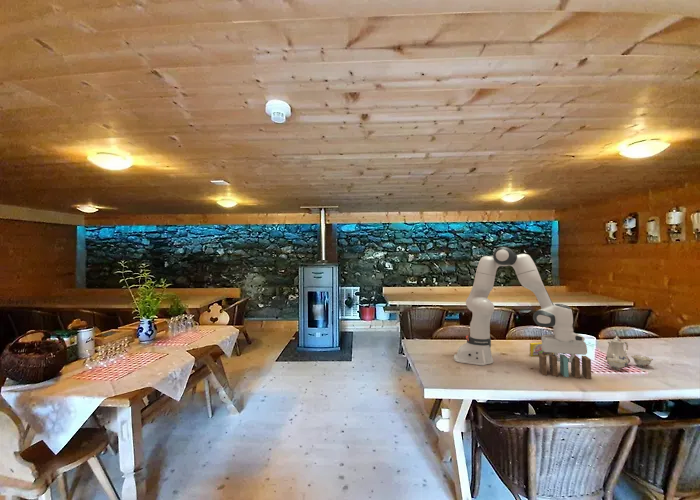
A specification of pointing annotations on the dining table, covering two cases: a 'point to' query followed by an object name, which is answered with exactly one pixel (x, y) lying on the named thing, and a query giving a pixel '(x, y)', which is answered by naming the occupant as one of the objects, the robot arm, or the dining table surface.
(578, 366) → the domino
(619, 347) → the chinaware
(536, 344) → the candy box
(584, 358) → the domino
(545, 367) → the domino
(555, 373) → the domino
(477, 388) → the dining table surface
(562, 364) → the placed domino
